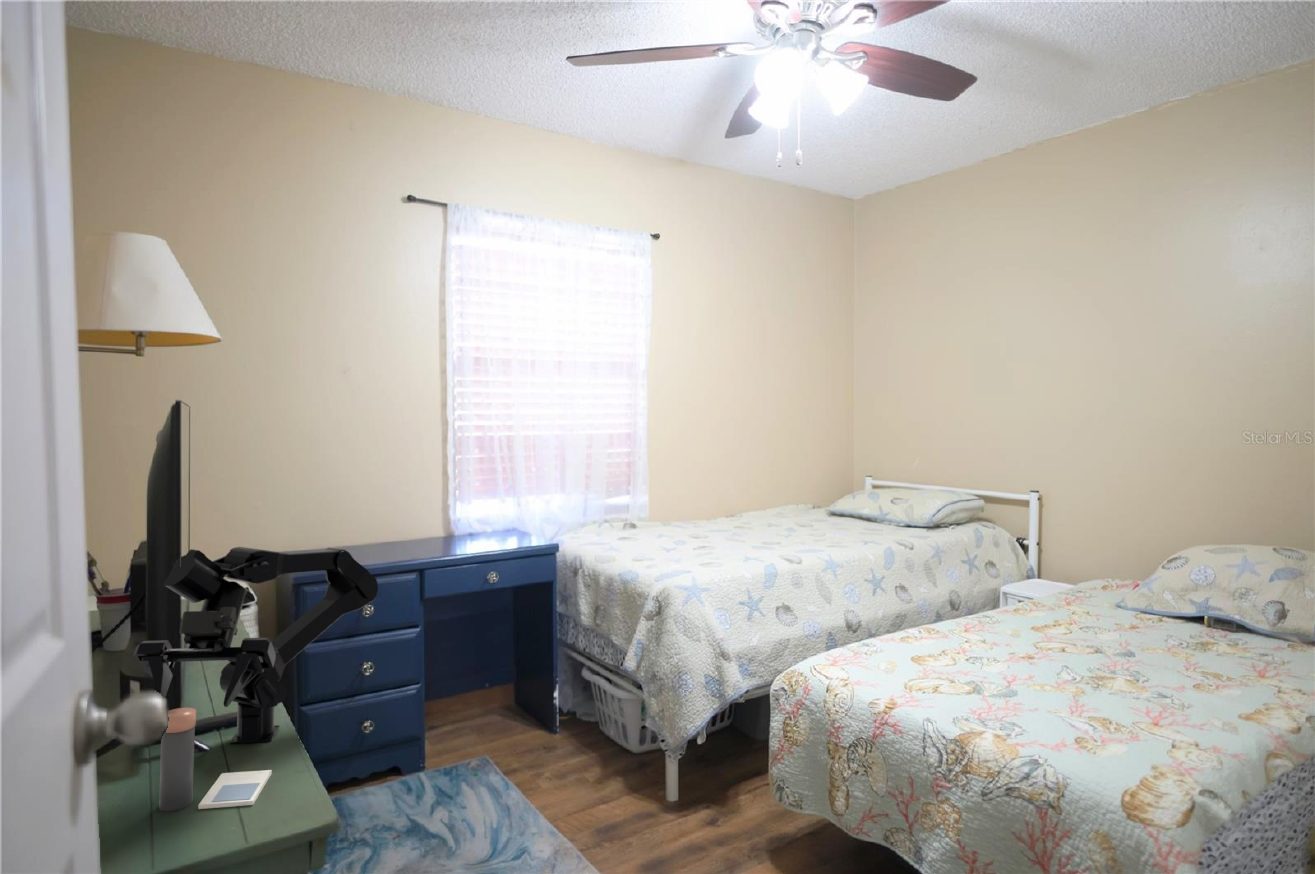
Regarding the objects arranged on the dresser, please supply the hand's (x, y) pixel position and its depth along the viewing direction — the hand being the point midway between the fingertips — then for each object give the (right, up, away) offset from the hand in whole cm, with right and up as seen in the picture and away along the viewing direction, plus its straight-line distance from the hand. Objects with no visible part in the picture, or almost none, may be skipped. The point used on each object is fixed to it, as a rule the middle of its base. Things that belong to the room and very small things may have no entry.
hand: (191, 707), depth 112 cm
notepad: (+7, -12, -1) cm, 14 cm away
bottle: (+1, -12, -6) cm, 13 cm away
